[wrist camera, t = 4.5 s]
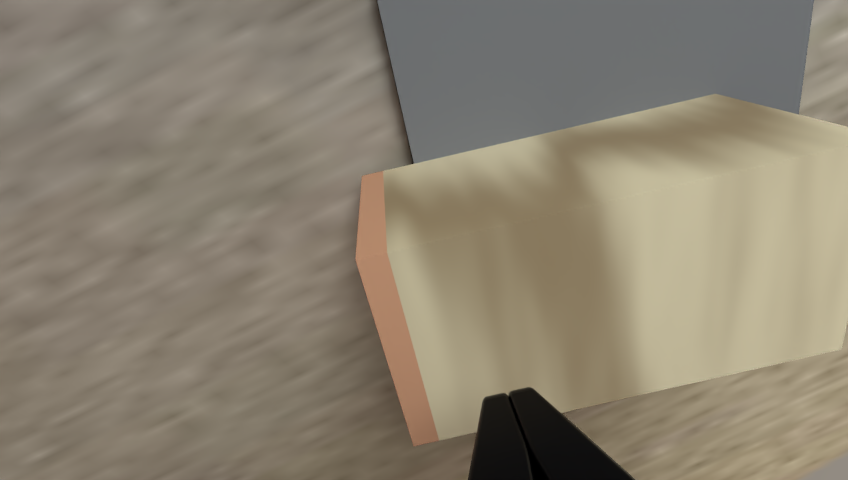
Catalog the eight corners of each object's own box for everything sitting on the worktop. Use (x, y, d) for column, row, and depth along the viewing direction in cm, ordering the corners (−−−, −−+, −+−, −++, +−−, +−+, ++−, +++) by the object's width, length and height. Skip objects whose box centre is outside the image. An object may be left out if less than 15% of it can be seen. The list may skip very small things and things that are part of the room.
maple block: (413, 446, 11) (841, 349, 11) (355, 259, 9) (887, 137, 9) (402, 320, 16) (707, 250, 16) (361, 175, 13) (715, 93, 13)
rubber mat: (467, 399, 18) (469, 411, 18) (373, -15, 12) (373, -16, 12) (755, 334, 18) (767, 344, 18) (809, -116, 12) (830, -122, 11)
